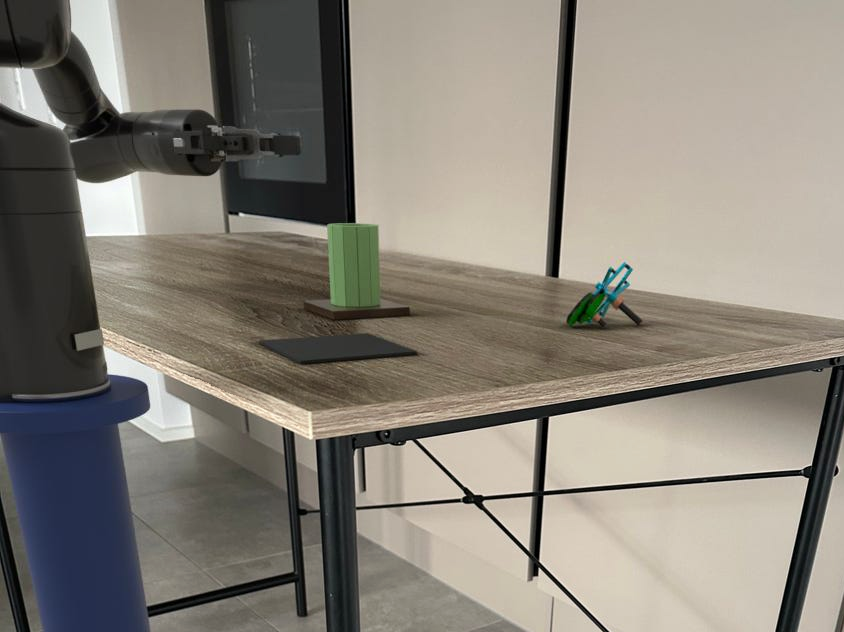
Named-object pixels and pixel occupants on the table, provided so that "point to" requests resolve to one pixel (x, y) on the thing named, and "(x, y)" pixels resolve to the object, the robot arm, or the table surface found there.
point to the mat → (336, 348)
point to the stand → (356, 310)
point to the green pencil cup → (354, 264)
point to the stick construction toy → (593, 300)
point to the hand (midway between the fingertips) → (275, 144)
